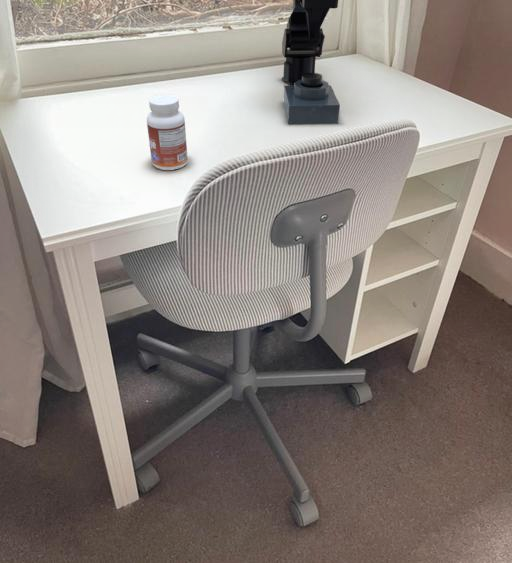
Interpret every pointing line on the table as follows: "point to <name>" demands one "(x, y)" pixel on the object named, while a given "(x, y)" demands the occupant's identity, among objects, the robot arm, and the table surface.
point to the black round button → (312, 80)
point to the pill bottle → (166, 133)
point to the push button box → (311, 104)
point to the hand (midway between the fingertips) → (312, 38)
